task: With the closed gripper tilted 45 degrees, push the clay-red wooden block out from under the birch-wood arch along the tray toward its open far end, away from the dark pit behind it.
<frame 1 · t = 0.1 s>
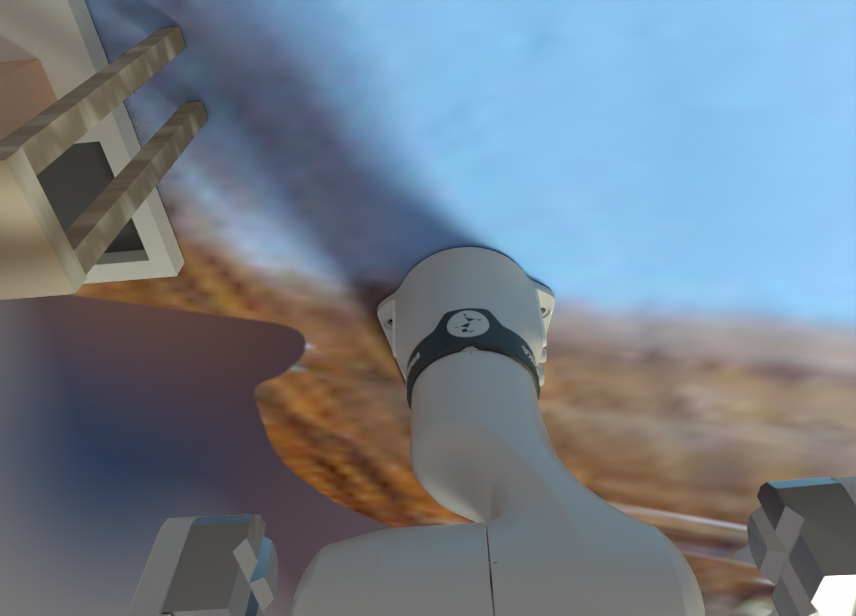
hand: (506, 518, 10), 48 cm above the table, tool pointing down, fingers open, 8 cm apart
block: (20, 100, 51), point 2 cm above the table, touching tray
arch: (35, 90, 53), on the table
tray: (35, 90, 53), on the table
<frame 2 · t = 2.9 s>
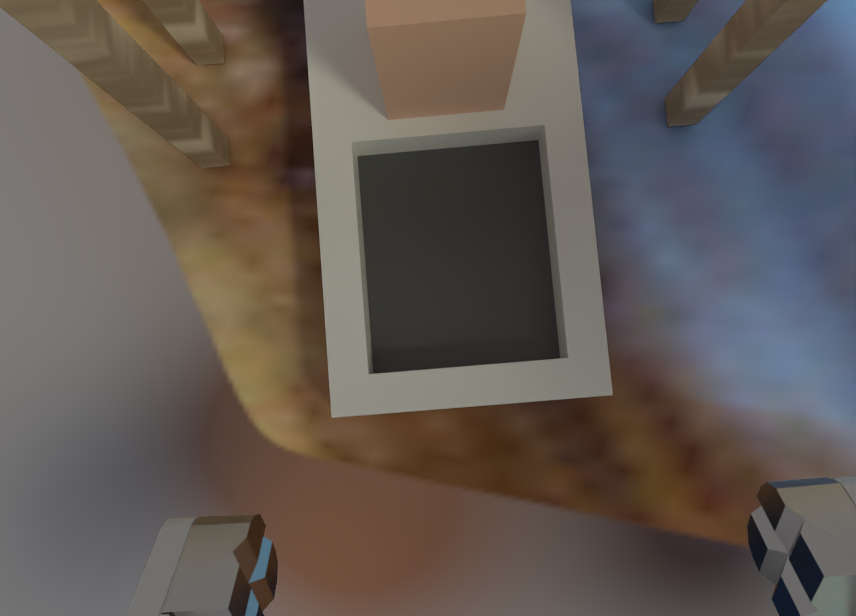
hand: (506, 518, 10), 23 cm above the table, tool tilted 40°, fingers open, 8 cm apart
block: (441, 59, 33), point 2 cm above the table, touching tray
arch: (441, 80, 35), on the table
tray: (441, 80, 35), on the table
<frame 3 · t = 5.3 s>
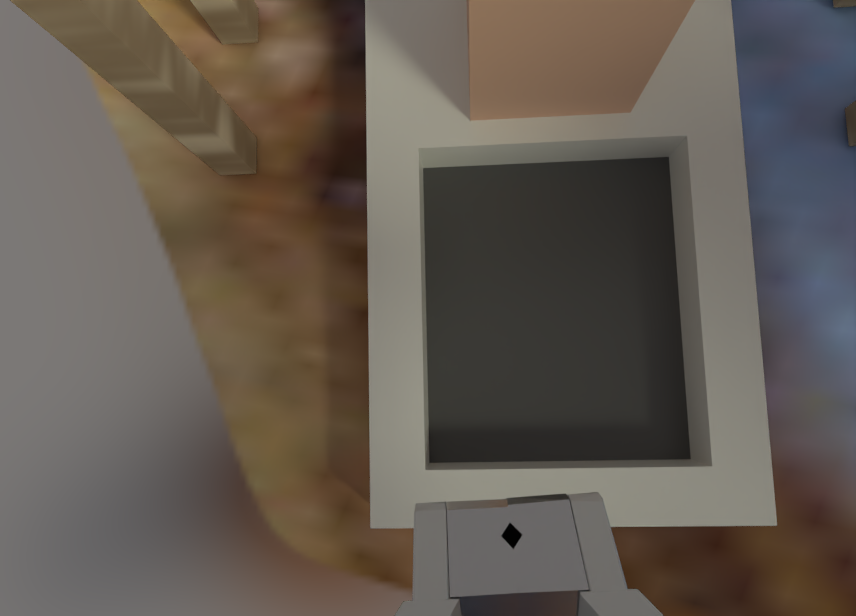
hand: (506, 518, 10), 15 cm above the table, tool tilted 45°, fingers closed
block: (546, 42, 24), point 2 cm above the table, touching tray
arch: (539, 74, 27), on the table
tray: (539, 74, 27), on the table
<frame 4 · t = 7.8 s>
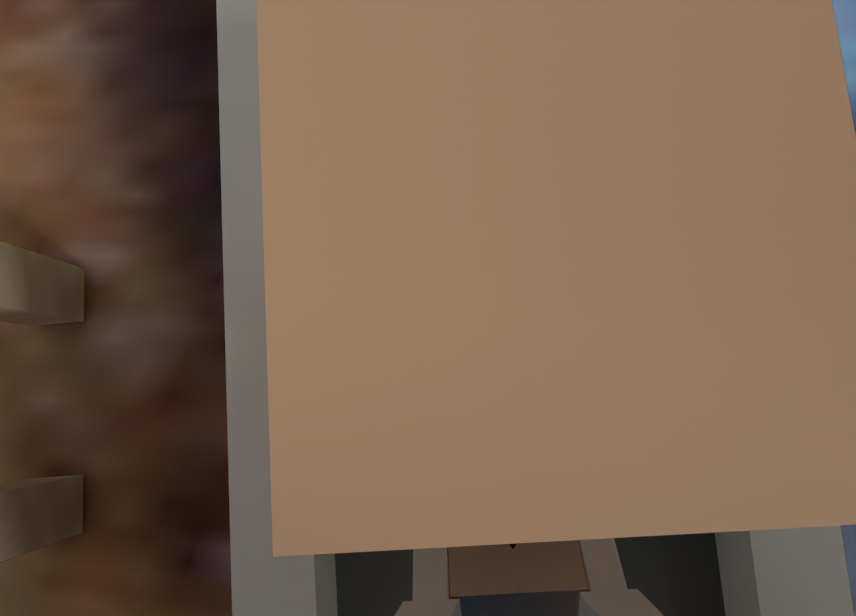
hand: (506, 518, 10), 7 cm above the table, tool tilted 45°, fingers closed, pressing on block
block: (505, 327, 15), point 3 cm above the table, touching gripper
arch: (505, 365, 18), on the table
tray: (505, 365, 18), on the table
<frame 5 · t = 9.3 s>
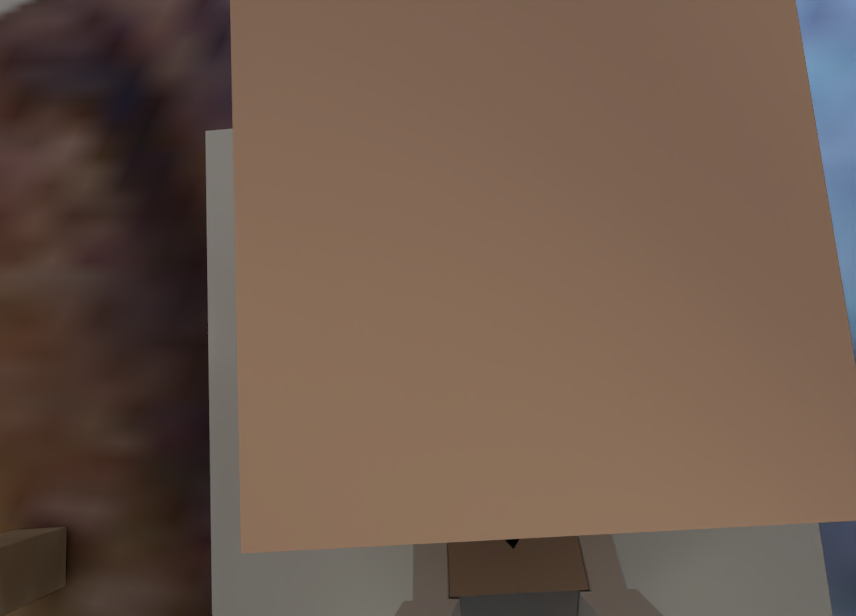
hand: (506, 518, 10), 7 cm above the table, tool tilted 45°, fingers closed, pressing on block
block: (491, 328, 15), point 3 cm above the table, touching gripper
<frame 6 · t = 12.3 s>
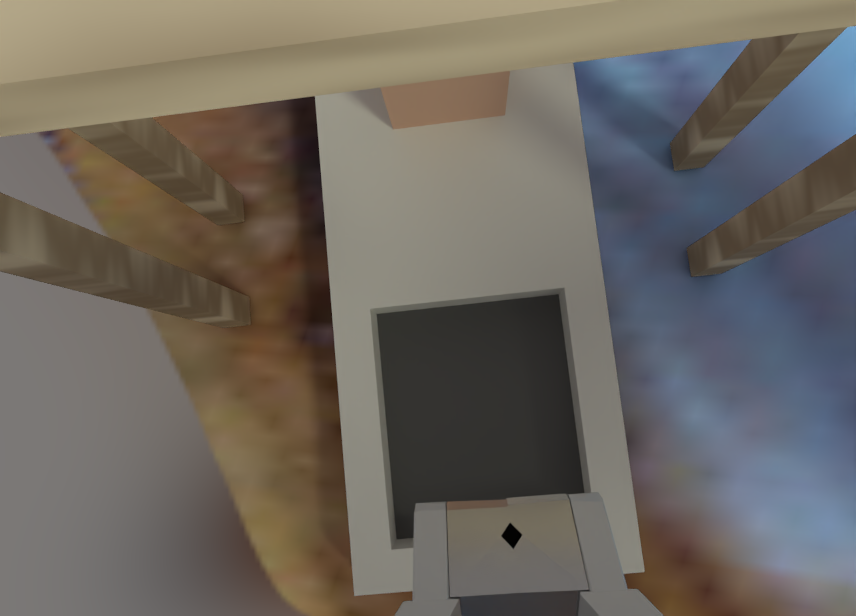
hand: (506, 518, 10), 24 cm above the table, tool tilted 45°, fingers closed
block: (443, 69, 34), point 2 cm above the table, touching tray
arch: (459, 234, 35), on the table
tray: (459, 234, 35), on the table
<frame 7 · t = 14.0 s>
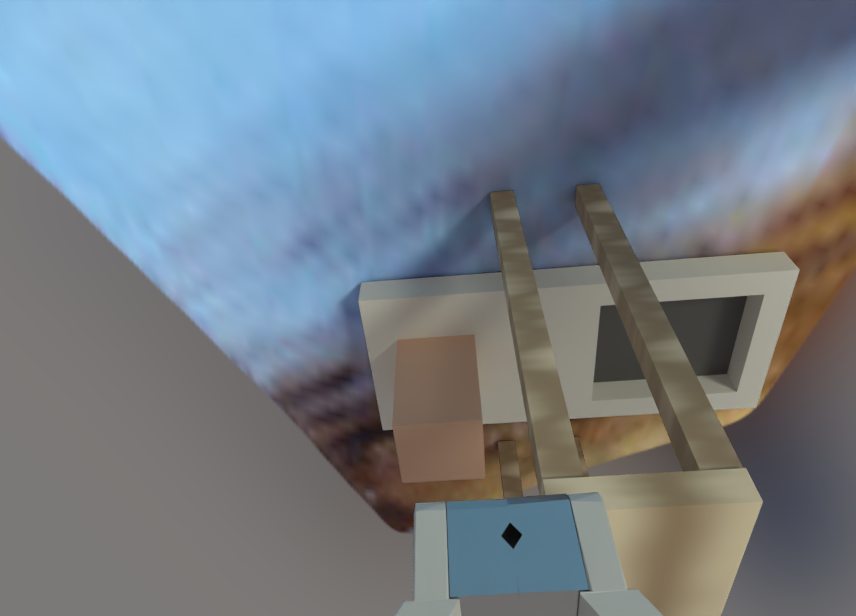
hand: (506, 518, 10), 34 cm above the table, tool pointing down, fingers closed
block: (438, 365, 51), point 2 cm above the table, touching tray
arch: (540, 339, 52), on the table
tray: (540, 339, 52), on the table
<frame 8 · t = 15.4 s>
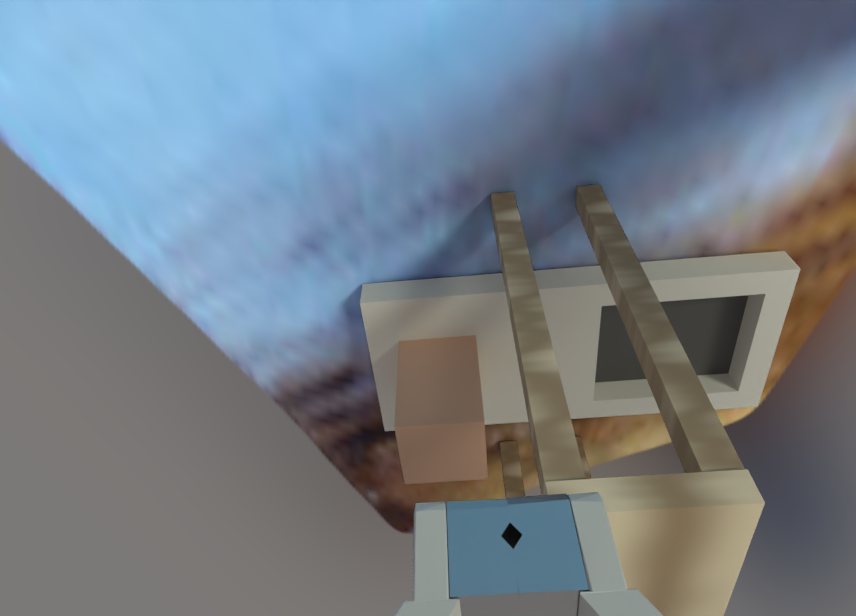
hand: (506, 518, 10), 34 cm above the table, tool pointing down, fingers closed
block: (440, 366, 51), point 2 cm above the table, touching tray
arch: (542, 340, 52), on the table
tray: (542, 340, 52), on the table
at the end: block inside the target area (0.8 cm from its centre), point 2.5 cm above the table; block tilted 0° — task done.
